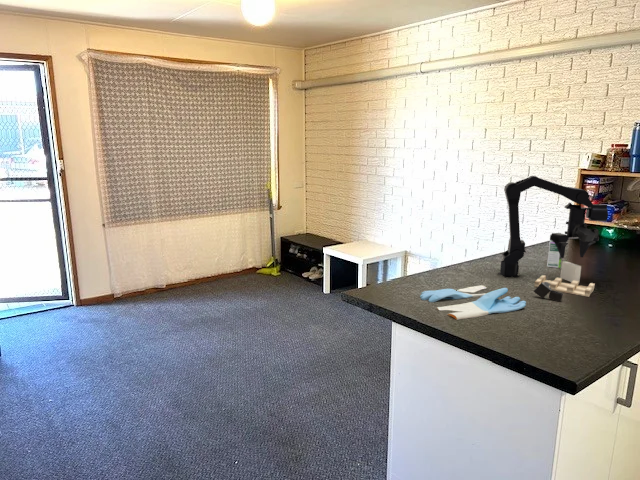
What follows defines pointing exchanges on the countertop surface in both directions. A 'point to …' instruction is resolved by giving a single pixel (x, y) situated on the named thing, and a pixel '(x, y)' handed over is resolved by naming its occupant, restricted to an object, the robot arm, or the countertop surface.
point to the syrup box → (553, 256)
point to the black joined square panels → (544, 290)
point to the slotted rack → (566, 286)
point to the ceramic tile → (570, 271)
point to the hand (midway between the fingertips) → (571, 257)
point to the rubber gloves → (475, 302)
